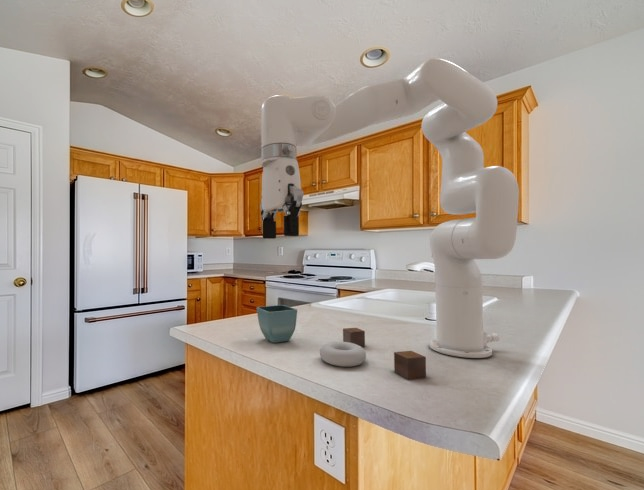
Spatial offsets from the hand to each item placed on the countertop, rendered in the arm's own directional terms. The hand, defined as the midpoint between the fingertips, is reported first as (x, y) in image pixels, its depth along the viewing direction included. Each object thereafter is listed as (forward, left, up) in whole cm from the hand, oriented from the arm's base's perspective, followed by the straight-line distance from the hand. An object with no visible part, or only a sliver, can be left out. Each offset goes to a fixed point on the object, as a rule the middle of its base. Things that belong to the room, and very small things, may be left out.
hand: (279, 237), depth 68 cm
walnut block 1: (-23, -10, -28) cm, 37 cm away
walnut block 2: (-23, +11, -28) cm, 37 cm away
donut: (-14, 0, -28) cm, 31 cm away
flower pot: (-5, -20, -28) cm, 35 cm away
